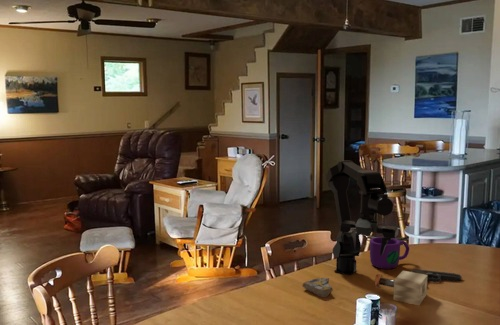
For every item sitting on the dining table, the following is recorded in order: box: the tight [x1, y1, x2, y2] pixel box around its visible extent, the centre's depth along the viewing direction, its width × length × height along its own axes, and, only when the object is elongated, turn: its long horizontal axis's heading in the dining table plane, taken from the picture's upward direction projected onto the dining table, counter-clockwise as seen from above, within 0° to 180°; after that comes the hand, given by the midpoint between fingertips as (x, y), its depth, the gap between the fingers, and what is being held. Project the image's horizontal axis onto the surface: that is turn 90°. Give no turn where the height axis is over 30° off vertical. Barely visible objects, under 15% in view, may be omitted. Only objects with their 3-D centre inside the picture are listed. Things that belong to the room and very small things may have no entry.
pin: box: [374, 273, 394, 289], centre depth 160 cm, size 12×4×4 cm, turn 57°
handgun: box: [410, 269, 463, 283], centre depth 171 cm, size 3×18×12 cm
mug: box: [369, 236, 410, 270], centre depth 189 cm, size 17×11×10 cm, turn 111°
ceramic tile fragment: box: [302, 277, 333, 298], centre depth 163 cm, size 12×3×10 cm
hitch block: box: [393, 270, 428, 306], centre depth 157 cm, size 8×10×7 cm
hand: (367, 253), depth 165 cm, fingers open, 9 cm apart
